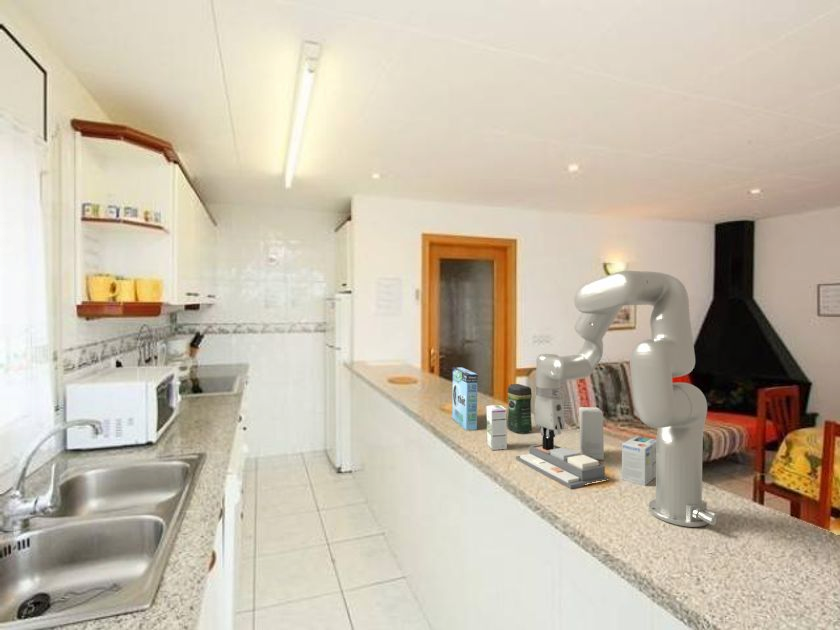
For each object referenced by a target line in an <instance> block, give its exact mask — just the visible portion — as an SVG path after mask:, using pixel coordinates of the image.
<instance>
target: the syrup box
mask: <svg viewBox="0 0 840 630" xmlns="http://www.w3.org/2000/svg"><path fill="white" fill-rule="evenodd" d="M507 429H508V420H507V408H505V407H504V406H503V405H501V404H493V405H486V445H488V446H489V447H490V448H491V449H492V450H491V449H490V450H491V451H502V450H501V449H505V450H507V449H508V447H507V446H508V437H507V436H508V435H507V434H508V433H507V432H508V431H507ZM488 446H487V447H488ZM498 449H500V450H498Z"/></svg>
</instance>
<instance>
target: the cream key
mask: <svg viewBox="0 0 840 630" xmlns="http://www.w3.org/2000/svg"><path fill="white" fill-rule="evenodd" d="M599 462H600V460H595V459H592V458H590V457H588V456H585V455H582V454H579V455H578V456H573V457H568V463H570V464H572V465H574V466H576V467H578V468H580V469H587V468H592V467H597V466H598V465H599V464H600V463H599Z"/></svg>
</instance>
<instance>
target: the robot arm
mask: <svg viewBox="0 0 840 630" xmlns="http://www.w3.org/2000/svg"><path fill="white" fill-rule="evenodd" d="M689 299H690V298H689V295H688V290H687V288H686V286H685V285H684V283H683V282H682V281H680V279H678V278H677V277H675V276H673V275H670V274H668V273H663V272H658V271H645V270H640V271H639V270H621V271H618V272H614V273H611V274H608V275H605V276H603V277H599V278H596V279H593V280H590V281H588V282H585V283H583V284H582V285H581V286H579V288H578V289H577V290H576V292H575V295H574V299H573V302H574V306H575V308H576V309H577V310H578V312H581V313H580V315H579V316H578V318H577V319H576V322H575V324H574V330H575V332H576V334H578V336H579V337H581V339H584V342H583V344H582V346H581V349H580V350H579V352H578V353H577V354H576V355H575V354H573V355H564V356H562V355H561V356H560V355H558V354H553V353H541V354H538V355H537V356H536V360H535V361H536V363H535V364H536V366H535V368H536V369H535V370H536V372H535V373H536V375H535V377H536V378H535V381H536V382H535V385H536V388H535V389H536V390H535V391H536V393H535V394H536V395H535V399H534V406H533V407H534V409H533V420H534V423H535V426H536V428H538V429H539V430H540V435H541V436H542V444H543V449H545V450H550V449H553V448H554V445H555V441H554V440H555V439H554V438H555V437H556V436H558V435H561V433H562V430H564V429H565V408H564V402H563V398H561V395H562V394H561V388H562V386H561V382H568V381H575V380H582V379H583V380H584V379H586V378H588V377H589V376H591V375H592V373H593V372H594V371H595V369H596V368H597V366H598V365H599V363H600V362H601V360H602V358H603V354H604V343H603V338H604V336H605V335H606V333H607V332H608V330H609V328H610V327H611V325H612V324H613V322H614V320H615V319H616V318H617V316H618V314H619V313H620V311H621V309H622V307H624V306H647V305H648V306H652V307H653V309H652V312H651V316H650V321H649V324H650V326H649V327H650V331H651V338H647V339H644V340H642V341H640V342H638V343H637V344H636V345H635V346H634V348H633V349H632V351H631V354H630V358H629V369H630V371H629V372H630V379H631V387H632V396H633V397H632V399H633V405H634V408H635V409H634V410H635V412H636V414H637V417H638V418H639V419H640V421H641V422H642V423H643V424H645V426H648V427H650V428H651V429H652V428H653V429H657V431H656V432H657V433H656V437H655V438H656V477H655V498H654V499H652V500H651V501H649V503H648V511H649V512H650V513H651V514H652V515H653V516H655V517H656V518H658V519H659V520H661V521H664V522H665V523H666V522H667V523H669V524H673V525H676V526H681V527H686V528H687V527H690V528H699V527H704V526H706V525H711V526H715V525H716V523H717V520H718V516H719V515H718V513H716V512H714V511H712V510H709V509H708V507H707V506H708V505H707V501H705V500H703V443H704V441H703V439H704V430H705V424H706V419H707V414H708V403H707V399H706V396H705V395H704V393H703V392H702V390H701V389H700V388H699V387H697V386H695V385H694V384H691V383H688V382H681V381H680V382H673V378H679V377H683V376H686V375H689V374H690V373H691V372H693V369H695V365H696V354H695V347H694V337H693V331H692V324H691V323H692V322H691V317H690V300H689Z"/></svg>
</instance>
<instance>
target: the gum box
mask: <svg viewBox="0 0 840 630" xmlns="http://www.w3.org/2000/svg"><path fill="white" fill-rule="evenodd" d="M478 375H479V374H477V373H476V372H473V371H471V370H469V369H466V368H464V367H462V366H461V367H452V398H451V399H452V410H451V411H452V412H451V414H452V415H451V418H453V419H452V420H453V421H455V422H456V424H458V425H459V426H460V425H461V426H460V427H462V428H463V429H464V430H465V431H466V430H473V431H477V430H478Z"/></svg>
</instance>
